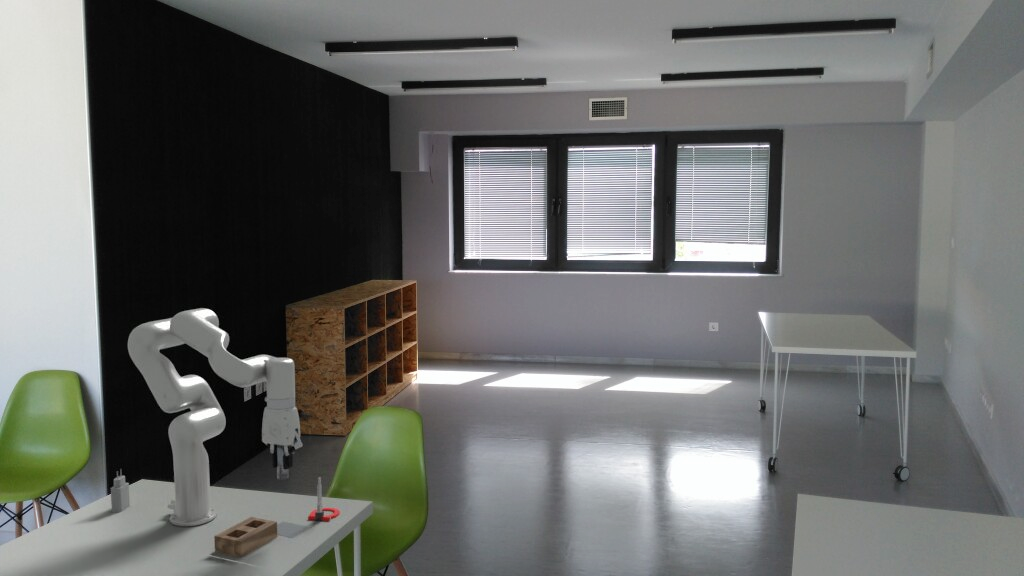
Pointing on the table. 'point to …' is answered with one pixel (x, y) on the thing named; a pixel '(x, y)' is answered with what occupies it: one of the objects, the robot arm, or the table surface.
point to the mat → (290, 529)
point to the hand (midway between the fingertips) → (282, 466)
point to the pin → (281, 463)
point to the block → (245, 536)
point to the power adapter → (120, 494)
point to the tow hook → (318, 513)
